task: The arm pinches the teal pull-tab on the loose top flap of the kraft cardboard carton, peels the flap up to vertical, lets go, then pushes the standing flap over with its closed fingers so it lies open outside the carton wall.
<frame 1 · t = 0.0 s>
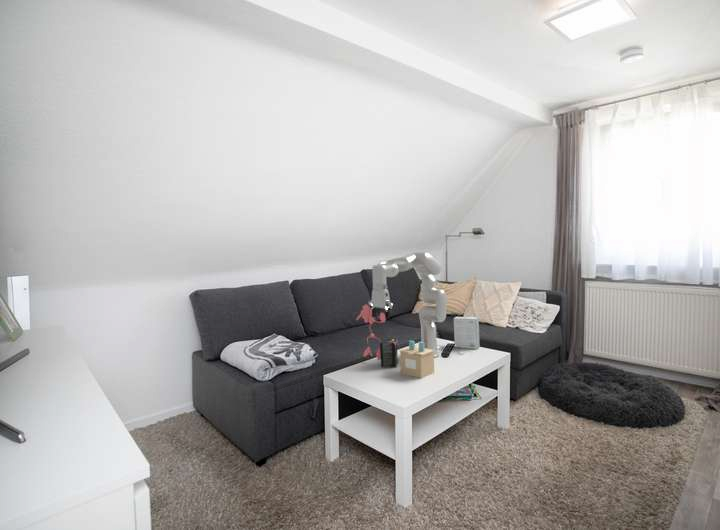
hand: (380, 317, 229), 31 cm above the table, fingers open, 9 cm apart
figurine: (369, 359, 258), on the table
carton: (417, 372, 228), on the table
tampon box: (389, 365, 245), on the table
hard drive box: (466, 347, 278), on the table
flap: (423, 347, 224), point 15 cm above the table, hinge at 0.0°
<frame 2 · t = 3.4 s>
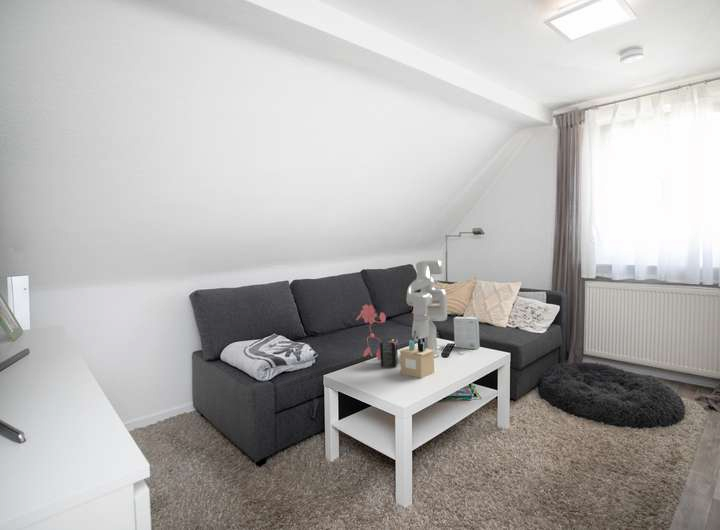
hand: (421, 350, 225), 13 cm above the table, fingers closed
flap: (423, 347, 224), point 15 cm above the table, hinge at 0.0°, touching gripper
everything else where it was.
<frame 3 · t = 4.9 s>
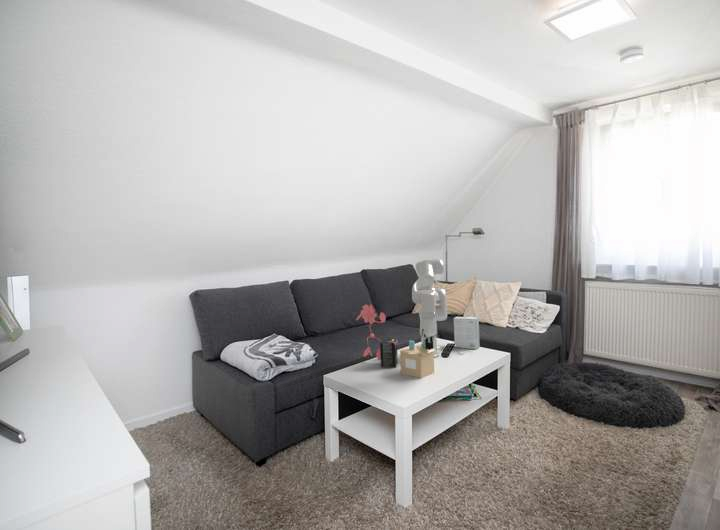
hand: (429, 348, 222), 15 cm above the table, fingers closed
flap: (427, 345, 222), point 16 cm above the table, hinge at 44.3°, touching gripper
everything else where it was.
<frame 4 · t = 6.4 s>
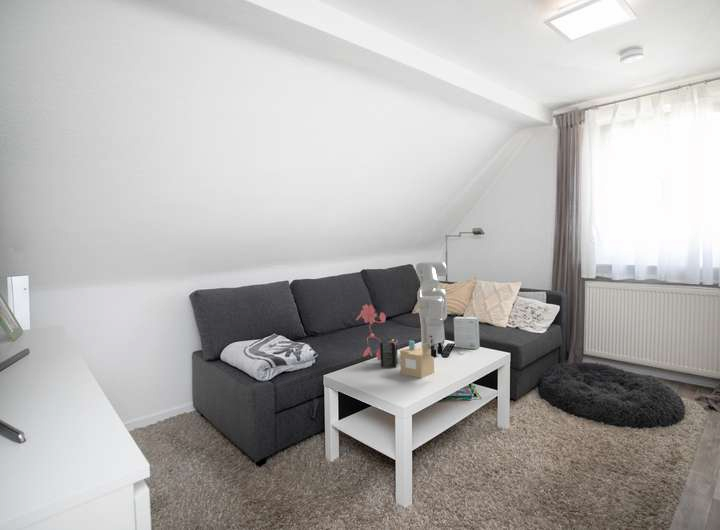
hand: (437, 355, 219), 12 cm above the table, fingers open, 5 cm apart
flap: (432, 348, 220), point 15 cm above the table, hinge at 90.2°
everything else where it was.
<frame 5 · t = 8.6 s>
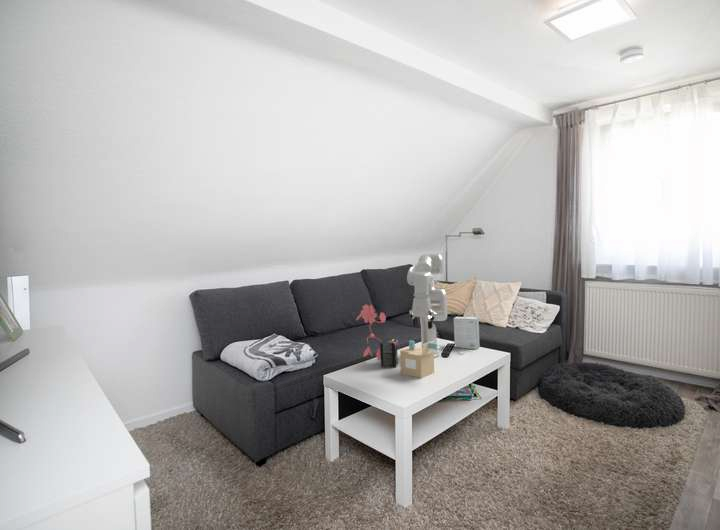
hand: (422, 327, 224), 26 cm above the table, fingers open, 9 cm apart
nothing on the table moved.
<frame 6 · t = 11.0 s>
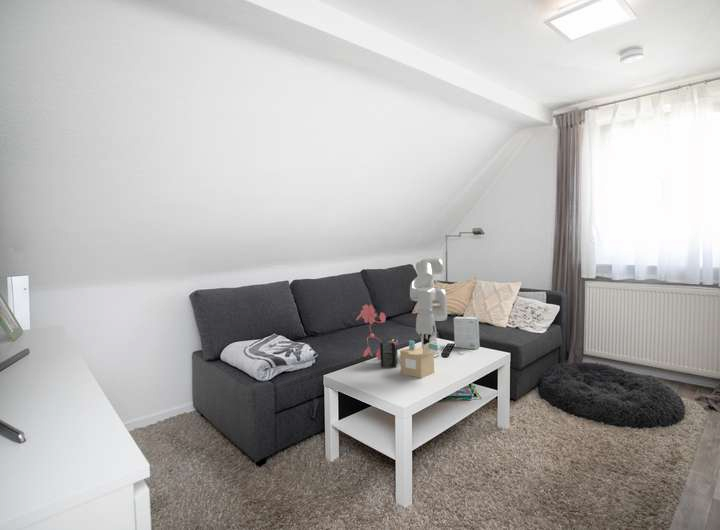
hand: (426, 345, 223), 16 cm above the table, fingers closed
flap: (433, 349, 220), point 15 cm above the table, hinge at 96.7°, touching gripper
everything else where it was.
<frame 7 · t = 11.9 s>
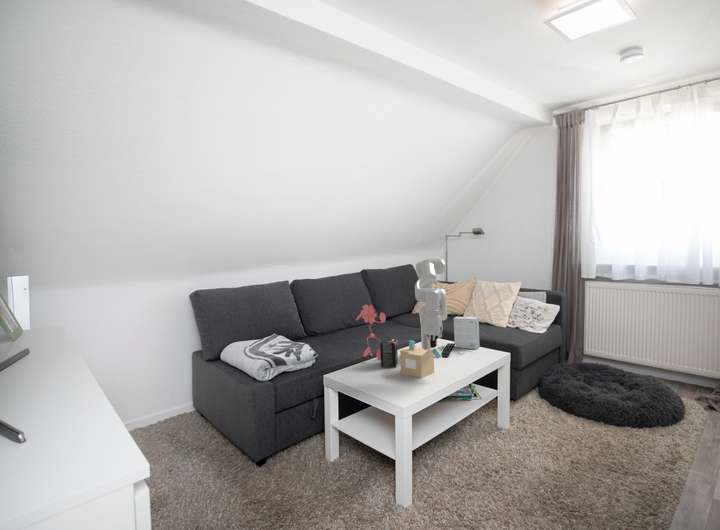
hand: (433, 347, 220), 16 cm above the table, fingers closed
flap: (434, 354, 219), point 12 cm above the table, hinge at 136.5°, touching gripper
everything else where it was.
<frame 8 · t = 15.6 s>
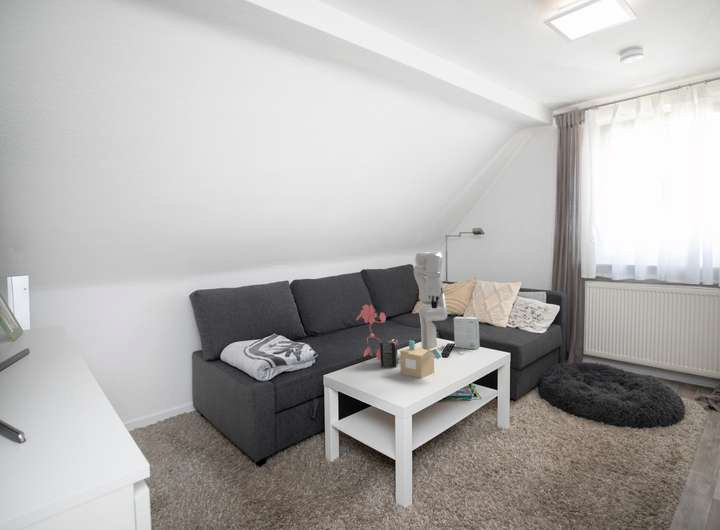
hand: (434, 308, 231), 35 cm above the table, fingers closed
flap: (434, 354, 219), point 12 cm above the table, hinge at 138.6°
everything else where it was.
at the end: flap at +139° (first picture: +0°); the gripper is holding nothing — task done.
